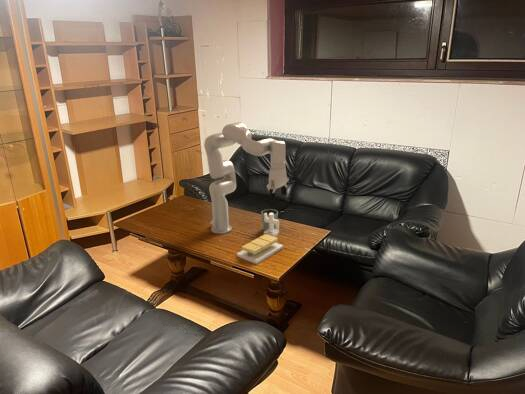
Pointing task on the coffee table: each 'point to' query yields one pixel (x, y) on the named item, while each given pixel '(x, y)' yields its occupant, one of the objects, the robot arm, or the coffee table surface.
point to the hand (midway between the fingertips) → (278, 197)
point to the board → (260, 253)
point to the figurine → (271, 225)
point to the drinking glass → (265, 224)
